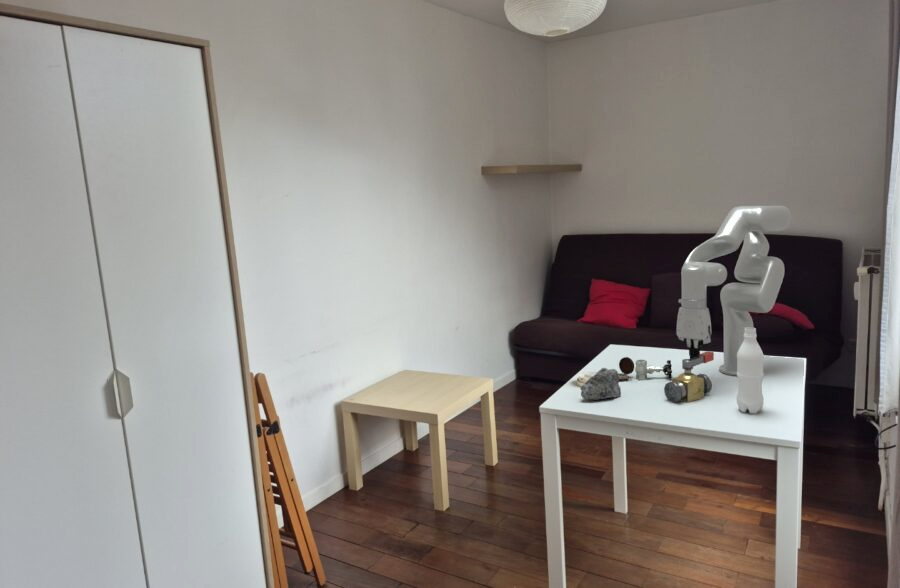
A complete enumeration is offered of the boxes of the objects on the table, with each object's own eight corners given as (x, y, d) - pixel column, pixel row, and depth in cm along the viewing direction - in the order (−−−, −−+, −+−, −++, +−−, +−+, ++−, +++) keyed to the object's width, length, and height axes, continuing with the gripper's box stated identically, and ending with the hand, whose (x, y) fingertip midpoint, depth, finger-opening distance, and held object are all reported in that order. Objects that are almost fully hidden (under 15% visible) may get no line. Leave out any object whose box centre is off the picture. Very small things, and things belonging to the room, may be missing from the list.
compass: (607, 379, 234) (607, 360, 233) (621, 374, 239) (620, 355, 238) (626, 384, 228) (625, 363, 227) (640, 378, 233) (639, 358, 231)
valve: (636, 381, 230) (672, 381, 227) (635, 363, 229) (671, 362, 226) (634, 376, 236) (669, 375, 234) (634, 358, 235) (669, 357, 233)
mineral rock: (580, 403, 212) (579, 373, 211) (580, 392, 223) (579, 363, 221) (622, 402, 210) (621, 372, 208) (620, 392, 220) (619, 363, 218)
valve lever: (689, 370, 206) (689, 362, 205) (680, 368, 208) (680, 360, 208) (715, 360, 215) (715, 352, 214) (706, 358, 217) (706, 350, 217)
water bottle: (736, 405, 199) (736, 325, 195) (762, 407, 197) (763, 325, 192) (737, 414, 193) (736, 331, 189) (764, 415, 190) (764, 331, 186)
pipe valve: (694, 390, 216) (693, 362, 215) (713, 396, 209) (713, 367, 208) (662, 398, 210) (661, 370, 209) (681, 405, 203) (681, 376, 202)
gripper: (666, 303, 216) (667, 357, 218) (710, 307, 204) (710, 364, 207) (678, 300, 220) (679, 353, 223) (722, 303, 209) (722, 359, 212)
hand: (694, 358), depth 215 cm, fingers closed
